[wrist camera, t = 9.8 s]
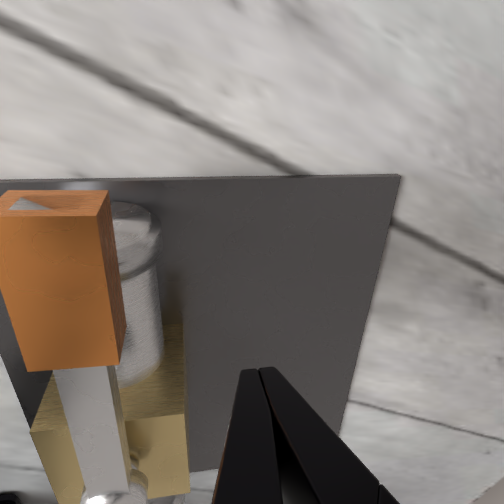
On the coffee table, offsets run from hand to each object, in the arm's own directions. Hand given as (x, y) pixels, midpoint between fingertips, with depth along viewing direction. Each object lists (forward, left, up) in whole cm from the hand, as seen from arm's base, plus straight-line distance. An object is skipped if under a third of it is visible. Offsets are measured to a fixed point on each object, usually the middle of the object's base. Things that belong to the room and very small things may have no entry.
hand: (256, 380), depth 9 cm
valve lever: (-4, +5, -4) cm, 8 cm away
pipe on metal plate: (-11, +1, -12) cm, 16 cm away
